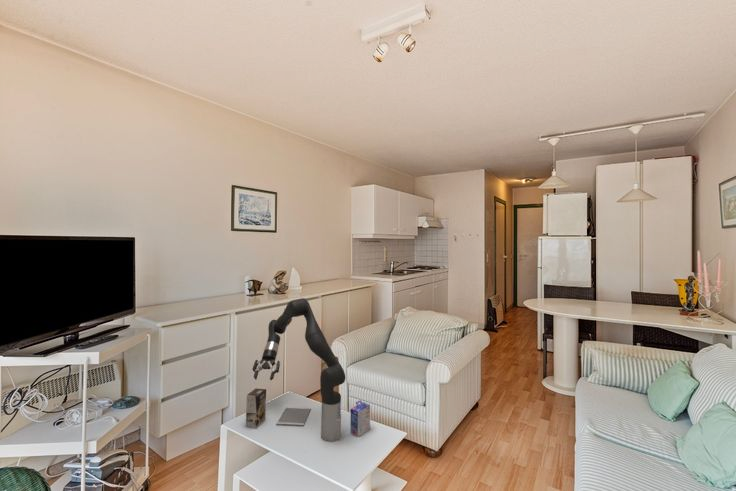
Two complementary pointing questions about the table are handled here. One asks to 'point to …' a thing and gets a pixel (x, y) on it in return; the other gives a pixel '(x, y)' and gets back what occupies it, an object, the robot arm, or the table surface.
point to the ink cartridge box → (360, 418)
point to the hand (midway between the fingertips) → (263, 379)
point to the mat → (294, 416)
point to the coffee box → (256, 408)
